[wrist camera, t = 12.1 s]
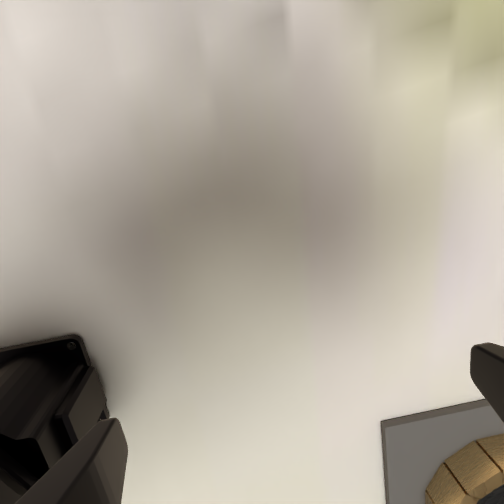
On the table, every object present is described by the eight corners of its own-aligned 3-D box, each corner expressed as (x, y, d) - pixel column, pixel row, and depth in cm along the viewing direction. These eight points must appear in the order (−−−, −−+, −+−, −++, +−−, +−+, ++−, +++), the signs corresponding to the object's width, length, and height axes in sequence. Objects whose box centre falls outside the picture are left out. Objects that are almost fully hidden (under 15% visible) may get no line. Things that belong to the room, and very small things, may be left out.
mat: (390, 571, 29) (394, 580, 29) (381, 421, 24) (385, 428, 24) (568, 530, 30) (575, 537, 29) (592, 376, 25) (601, 381, 25)
